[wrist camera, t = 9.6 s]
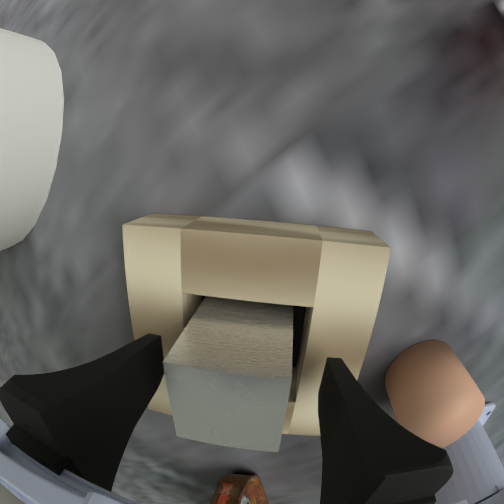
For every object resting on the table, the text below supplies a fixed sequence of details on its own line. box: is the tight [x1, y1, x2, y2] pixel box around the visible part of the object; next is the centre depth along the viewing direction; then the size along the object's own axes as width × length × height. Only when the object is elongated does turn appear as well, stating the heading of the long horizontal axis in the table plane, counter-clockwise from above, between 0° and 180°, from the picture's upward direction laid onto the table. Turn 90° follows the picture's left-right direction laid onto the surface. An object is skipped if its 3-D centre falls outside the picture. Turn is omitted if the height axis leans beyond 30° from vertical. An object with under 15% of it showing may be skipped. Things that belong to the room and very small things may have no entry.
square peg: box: [163, 296, 293, 452], centre depth 12 cm, size 4×4×7 cm
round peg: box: [385, 340, 485, 448], centre depth 13 cm, size 5×5×5 cm
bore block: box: [123, 214, 391, 436], centre depth 14 cm, size 11×11×3 cm
